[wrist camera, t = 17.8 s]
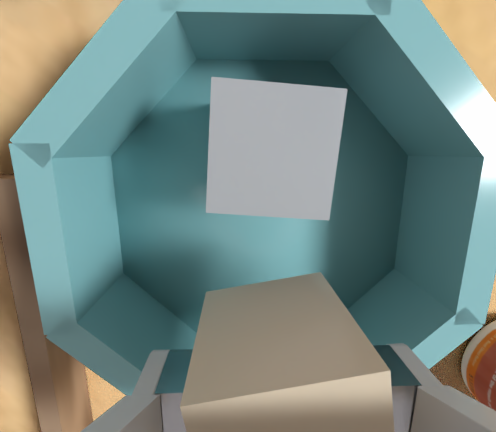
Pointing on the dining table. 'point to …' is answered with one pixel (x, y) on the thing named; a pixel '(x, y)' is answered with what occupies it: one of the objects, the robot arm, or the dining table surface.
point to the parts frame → (40, 331)
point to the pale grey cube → (273, 148)
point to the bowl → (245, 226)
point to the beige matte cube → (284, 363)
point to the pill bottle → (481, 366)
